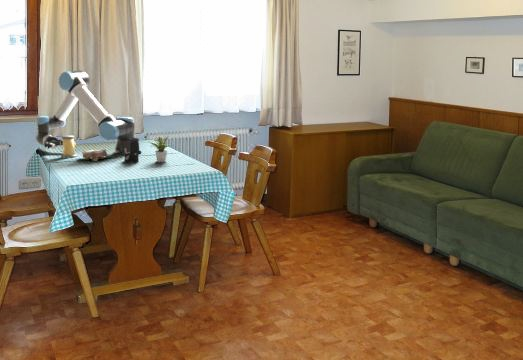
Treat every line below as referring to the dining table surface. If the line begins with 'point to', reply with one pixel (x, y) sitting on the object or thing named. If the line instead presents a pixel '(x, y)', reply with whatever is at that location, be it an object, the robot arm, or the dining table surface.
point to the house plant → (160, 149)
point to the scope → (133, 151)
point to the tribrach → (94, 154)
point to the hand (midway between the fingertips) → (65, 145)
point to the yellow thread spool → (68, 147)
